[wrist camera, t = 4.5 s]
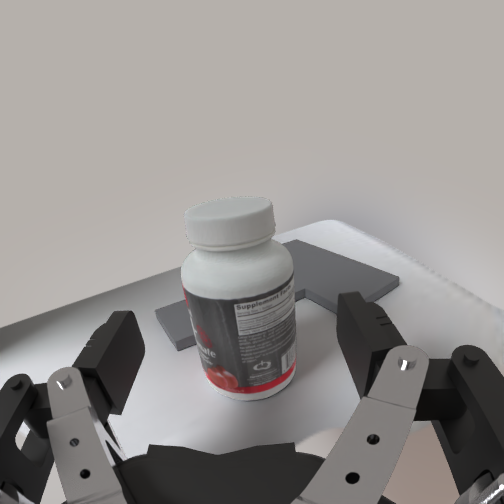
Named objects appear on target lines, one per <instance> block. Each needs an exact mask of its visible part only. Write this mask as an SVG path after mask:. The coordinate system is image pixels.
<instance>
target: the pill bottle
mask: <svg viewBox="0 0 504 504" xmlns="http://www.w3.org/2000/svg"><path fill="white" fill-rule="evenodd" d="M184 219H185V226H186V237H187V239H188V240H189V242H190V244H191V245H192V246H193V247H195V250H193V251H192V252H191V253H190V254H189V255H188V256H187V257H186V258H185V260H184V262H183V264H182V267H181V279H182V286H183V290H184V294H185V299H186V303H187V306H188V311H189V315H190V319H191V323H192V327H193V331H194V335H195V339H196V342H197V346H198V350H199V354H200V358H201V362H202V366H203V369H204V372H205V376H206V378H207V380H208V382H209V384H210V385H211V387H212V388H213V389H214V390H216V391H217V392H218V393H220V394H221V395H224V396H227V397H229V398H232V399H236V400H243V401H251V400H258V399H264V398H267V397H270V396H272V395H274V394H276V393H278V392H279V391H280V390H282V389H283V388H284V387H286V386H287V385H288V384H289V383H290V381H291V380H292V378H293V376H294V374H295V370H296V320H295V293H294V269H293V261H292V257H291V254H290V253H289V251H288V250H287V248H286V247H285V246H283V245H282V244H281V243H279V242H277V241H275V240H272V239H271V237H273V236H274V234H275V221H274V213H273V205H272V202H271V201H270V200H268V199H266V198H261V197H231V198H223V199H217V200H212V201H208V202H204V203H201V204H198V205H195V206H193V207H190V208H189V209H187V210H186V212H185V213H184Z"/></svg>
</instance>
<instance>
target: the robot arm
mask: <svg viewBox="0 0 504 504" xmlns="http://www.w3.org/2000/svg"><path fill="white" fill-rule="evenodd" d="M336 330H337V338H338V342H339V345H340V347H341V350H342V352H343V355H344V357H345V360H346V363H347V365H348V368H349V370H350V373H351V375H352V378H353V381H354V383H355V386H356V389H357V391H358V394H359V397H360V399H361V401H360V403H359V404H358V406H357V408H356V410H355V412H354V413H353V415H352V417H351V419H350V421H349V422H348V424H347V426H346V427H345V429H344V431H343V432H342V434H341V436H340V437H339V439H338V441H337V442H336V444H335V446H334V447H333V449H332V450H331V452H330V453H329V455H328V457H327V458H326V459H325V458H322V457H319V456H316V455H313V454H307V453H301V452H296V451H295V444H294V442H293V443H284V444H274V445H262V446H254V447H251V448H247V449H243V450H239V451H235V452H230V453H226V454H221V455H215V454H210V453H206V452H201V451H197V450H193V449H189V448H185V447H179V446H163V445H151V444H149V447H148V451H147V454H143V455H139V456H135V457H132V458H129V459H128V458H127V457H126V455H125V453H124V451H123V449H122V447H121V445H120V443H119V441H118V439H117V437H116V435H115V432H114V430H113V428H112V426H111V424H110V422H109V420H108V416H109V414H116V415H121V414H122V411H123V409H124V406H125V403H126V401H127V398H128V396H129V393H130V390H131V388H132V385H133V383H134V380H135V378H136V375H137V373H138V370H139V368H140V365H141V363H142V360H143V358H144V355H145V345H144V341H143V338H142V335H141V332H140V329H139V326H138V323H137V320H136V317H135V315H134V313H133V312H132V311H114V312H113V313H112V315H111V316H110V318H109V319H108V321H107V322H106V323H104V324H103V325H101V326H100V327H99V328H98V329H96V330H95V332H94V333H93V335H92V336H91V338H90V340H89V341H88V342H87V344H86V347H84V348H83V350H82V351H81V353H80V354H79V356H78V357H77V359H76V361H75V362H74V364H73V365H72V367H65V368H62V369H59V370H57V371H56V372H54V373H53V374H52V375H51V376H50V378H49V379H48V382H47V383H41V384H33V382H32V380H31V379H30V377H29V376H28V375H26V374H17V375H15V376H13V377H11V378H10V379H8V380H7V381H6V383H5V384H4V386H3V387H2V389H1V390H0V504H40V502H41V498H42V495H43V492H44V489H45V486H46V483H47V480H48V477H49V474H50V471H51V468H52V466H53V463H54V460H55V463H56V467H57V471H58V474H59V478H60V481H61V484H62V487H63V490H64V494H65V497H66V499H67V500H66V501H65V502H63V503H62V504H396V503H394V502H392V501H391V500H389V499H388V498H386V497H384V496H383V495H382V493H383V491H384V489H385V487H386V485H387V483H388V481H389V479H390V477H391V474H392V472H393V470H394V468H395V465H396V463H397V461H398V458H399V456H400V454H401V451H402V449H403V446H404V443H405V441H406V439H407V436H408V433H409V431H410V428H411V425H412V422H413V421H430V420H431V422H432V425H433V427H434V429H435V432H436V434H437V437H438V439H439V441H440V444H441V446H442V449H443V451H444V454H445V456H446V459H447V462H448V464H449V467H450V469H451V472H452V475H453V478H454V481H455V483H456V486H457V489H458V492H459V495H460V497H459V498H458V499H457V500H456V502H455V504H504V377H503V375H502V374H501V373H500V371H499V370H498V368H497V367H496V366H495V364H494V363H493V362H492V360H491V359H490V358H489V356H488V355H487V354H486V353H485V352H484V351H483V350H482V349H480V348H478V347H476V346H472V345H463V346H459V347H457V348H456V349H455V350H454V351H453V353H452V356H451V359H429V358H428V356H427V355H426V353H425V352H424V351H422V350H421V349H419V348H417V347H414V346H409V345H407V344H406V342H405V341H404V339H403V338H402V336H401V335H400V333H399V332H398V330H397V329H396V327H395V326H394V324H392V321H391V320H390V318H389V317H388V315H387V314H386V313H385V311H384V310H383V308H382V307H380V306H379V305H377V304H375V303H374V302H365V300H364V298H363V297H362V295H361V294H360V292H359V291H352V292H345V293H339V295H338V306H337V326H336ZM23 421H24V422H25V424H26V425H27V426H28V427H29V429H30V431H29V433H28V435H27V438H26V440H25V442H24V444H23V446H22V449H21V451H20V450H19V449H18V447H17V445H16V442H15V437H16V434H17V432H18V430H19V428H20V426H21V424H22V422H23Z"/></svg>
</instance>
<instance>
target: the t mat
mask: <svg viewBox="0 0 504 504" xmlns="http://www.w3.org/2000/svg"><path fill="white" fill-rule="evenodd" d="M282 245H283V246H285V247H286V248H287V250H288V251H289V253H290V254H291V257H292V261H293V269H294V293H295V301H297V300H299V299H302V298H304V297H307V298H308V299H310V300H312V301H314V302H316V303H317V304H319V305H321V306H323V307H325V308H327V309H328V310H330V311H332V312H334V313H336V314H337V306H338V295H339V293H345V292H352V291H359V292H360V294H361V295H362V297H363V298H364V300H365V302H374V301H376V300H377V299H379V298H380V297H382V296H383V295H385V294H386V293H388V292H389V291H391V290H392V289H394V288H395V287H397V286H398V285H399V277H398V276H395V275H393V274H390V273H387V272H385V271H382V270H379V269H377V268H374V267H371V266H368V265H366V264H363V263H360V262H358V261H355V260H352V259H350V258H347V257H344V256H341V255H339V254H336V253H333V252H330V251H327V250H325V249H322V248H319V247H316V246H314V245H311V244H308V243H305V242H302V241H299V240H297V239H296V240H293V241H290V242H287V243H284V244H282ZM155 312H156V316H157V319H158V320H159V322H160V324H161V325H162V327H163V329H164V330H165V332H166V333H167V335H168V337H169V338H170V340H171V341H172V343H173V344H174V346H175V347H176V349H177V351H179V350H182V349H184V348H187V347H189V346H192V345H194V344H197V342H196V339H195V335H194V331H193V327H192V323H191V319H190V315H189V311H188V306H187V303H186V300H183V301H180V302H177V303H174V304H171V305H168V306H165V307H162V308H160V309H157V310H155Z"/></svg>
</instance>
